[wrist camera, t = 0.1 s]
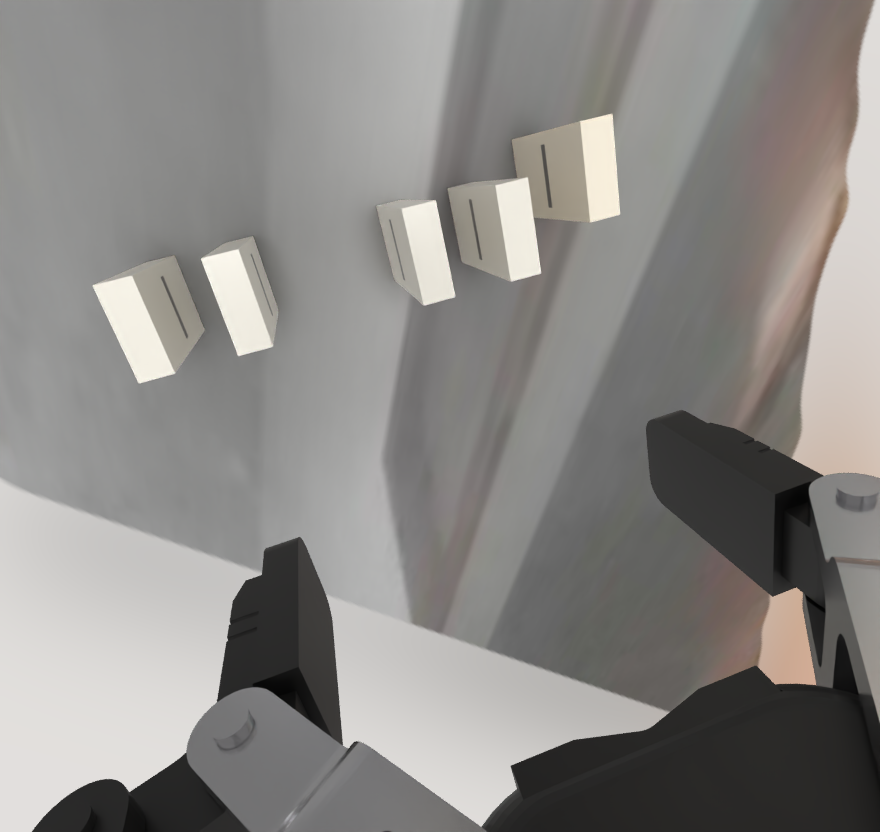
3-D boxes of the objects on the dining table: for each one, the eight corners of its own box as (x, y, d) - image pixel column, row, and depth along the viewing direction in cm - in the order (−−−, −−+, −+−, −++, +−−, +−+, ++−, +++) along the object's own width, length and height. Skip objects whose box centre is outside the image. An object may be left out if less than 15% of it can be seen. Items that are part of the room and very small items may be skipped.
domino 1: (145, 262, 35) (91, 285, 26) (174, 255, 35) (132, 275, 26) (177, 337, 37) (138, 383, 28) (205, 330, 37) (175, 373, 28)
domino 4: (446, 188, 37) (494, 185, 28) (472, 182, 38) (528, 177, 29) (461, 262, 39) (510, 281, 30) (485, 256, 40) (541, 273, 31)
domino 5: (511, 139, 37) (579, 121, 28) (536, 133, 38) (612, 113, 28) (522, 216, 39) (589, 222, 30) (546, 210, 40) (620, 214, 31)
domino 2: (224, 242, 35) (200, 258, 26) (253, 235, 36) (238, 249, 27) (252, 317, 37) (238, 356, 28) (279, 310, 38) (273, 346, 29)
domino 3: (375, 205, 37) (401, 208, 28) (402, 199, 37) (436, 200, 28) (394, 280, 39) (423, 305, 30) (419, 273, 39) (455, 296, 30)
